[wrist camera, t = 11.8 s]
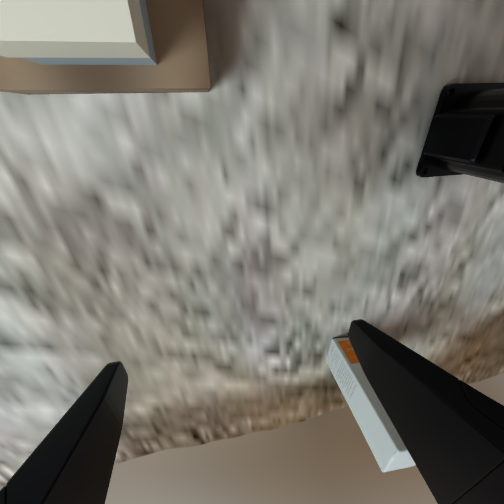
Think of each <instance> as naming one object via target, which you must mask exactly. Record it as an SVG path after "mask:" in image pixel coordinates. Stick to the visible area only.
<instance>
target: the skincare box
mask: <svg viewBox="0 0 504 504" xmlns="http://www.w3.org/2000/svg"><path fill="white" fill-rule="evenodd" d="M326 362H327V364H328V366H329V368H330V370H331V372H332V374H333V376H334V378H335V380H336V381H337V383H338V385H339V387H340V389H341V391H342V393H343V395H344V397H345V399H346V401H347V403H348V405H349V407H350V409H351V411H352V413H353V415H354V417H355V419H356V421H357V423H358V424H359V426H360V429H361V431H362V432H363V435H364V436H365V438H366V440H367V443H368V445H369V446H370V448H371V450H372V452H373V454H374V456H375V459H376V461H377V463H378V465H379V467H380V469H381V470H382V472H388V471H392V470H397V469H400V468H407V467H412V466H414V465H416V464H415V462H414V461H413V459H412V457H411V455H410V454H409V452H408V450H407V448H406V447H405V445H404V443H403V441H402V439H401V438H400V436H399V434H398V432H397V431H396V429H395V427H394V425H393V424H392V422H391V420H390V418H389V417H388V415H387V413H386V411H385V410H384V408H383V406H382V404H381V402H380V401H379V399H378V397H377V395H376V394H375V392H374V390H373V388H372V387H371V385H370V383H369V381H368V380H367V378H366V376H365V374H364V372H363V370H362V367H361V365H360V363H359V361H358V358H357V356H356V354H355V352H354V349H353V347H352V345H351V343H350V341H349V337H346V338H334V339H332V342H331V345H330V348H329V351H328V353H327V356H326Z"/></svg>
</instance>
